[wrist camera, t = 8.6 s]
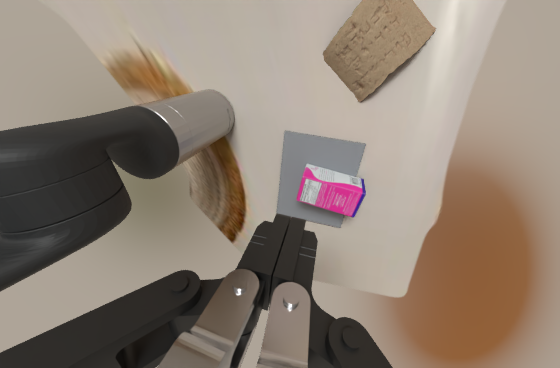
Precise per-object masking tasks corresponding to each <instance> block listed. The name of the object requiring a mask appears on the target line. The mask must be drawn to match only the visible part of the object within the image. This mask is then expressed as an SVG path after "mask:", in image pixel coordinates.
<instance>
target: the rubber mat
mask: <svg viewBox="0 0 560 368" xmlns="http://www.w3.org/2000/svg"><path fill="white" fill-rule="evenodd" d="M365 146H366V144H364V143H358V142H352V141H346V140H339V139H333V138H327V137H321V136H315V135H308V134H302V133H296V132H290V131H285V134H284V144H283V154H282V164H281V174H280V184H279V194H278V204H277V213H278V214H283V215H287V216H291V217H296V218H301V219H305V220H307V221H312V222H316V223H320V224H325V225H329V226H334V227H338V228H341V224H342V221H343V218H344V214H340V213H337V212H334V211H330V210H327V209H324V208H320V207H317V206H314V205H310V204H307V203H304V202H300V201H297V200H296V198H297V194H298V191H299V187H300V184H301V180H302V176H303V173H304V170H305V167H306V164H310V165H314V166H318V167H321V168H325V169H329V170H332V171H336V172H339V173H343V174H347V175H350V176H354V177H356V175H357V172H358V169H359V165H360V162H361V159H362V156H363V152H364V149H365Z"/></svg>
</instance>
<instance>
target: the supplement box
mask: <svg viewBox="0 0 560 368" xmlns="http://www.w3.org/2000/svg"><path fill="white" fill-rule="evenodd" d="M365 195H366V191H365V185H364V179H361V178H358V177H354V176H350V175H347V174H343V173H339V172H336V171H332V170H329V169H325V168H321V167H318V166H314V165H310V164H306V167H305V170H304V173H303V176H302V180H301V184H300V187H299V191H298V194H297V198H296V200H297V201H300V202H304V203H307V204H310V205H314V206H317V207H320V208H324V209H327V210H330V211H334V212H337V213H340V214H344V215H347V216H350V217H354V216H355V215H356V213H357V211H358V209H359V207H360V205H361V203H362V201H363V199H364V197H365Z"/></svg>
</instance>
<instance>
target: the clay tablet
mask: <svg viewBox="0 0 560 368" xmlns="http://www.w3.org/2000/svg"><path fill="white" fill-rule="evenodd" d="M435 29H436V28H435V27H433V26H432V25H431V24H430V22H429V21H428V20H427V19H426V17H425V16H424V15H423V13H422V12H421V10H420V9H419V8H418V7H417V5H416V4H415V3H414V1H413V0H363V1H362V2H361V3H360V4H359V5H358V6H357V7H356V9H355V10H354V11H353V14H352V16H351V17H350V18H349V19H348V20H347V21H346V23H345V24H344V25H343V27H341V28H340V29H339V31H338V33H337V35H336V36H335V37H334V38H333V40H332V41H331V42H330V44H329V45H328V47H327V48H326V50H325V51H324V52H323V55H324V60H325V62H326V63H327V64H328V65H329V66H330V67H331V68H332V70H333V71H334V72H335V73H336V74H337V75H338V77H339V78H340V79H341V80H342V81H343V82H344V83H345V85H346V86H347V87H348V88H349V89H350V91H352V92H353V93H354V94H355V97H356V98H357V100H358V101H359V102H360V101H362V100H364V99H365V98H366V97H367V96H368V94H371V93H372V92H374V91H375V88H377V87H379V86H380V85H381V84H382V83H383V81H384V80H385V78H386V77H387V76H388V74H389V73H392V72H394V70H395V69H396V68H397V67H398V66H400V65H401V64H403V63H404V62H405V61H406V59H408V58H411V56H412V55H413V54H414V53H416V52H417V51H418V49H420V48H421V47H422V45H424V43H425V42H426V40H428V39H429V38H430V36H431V35H432V34H433V32H435Z"/></svg>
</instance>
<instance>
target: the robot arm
mask: <svg viewBox="0 0 560 368" xmlns="http://www.w3.org/2000/svg"><path fill="white" fill-rule="evenodd" d="M233 124H234V112H233V109H232V106H231V104H230V103H229V101H228V100H227V99H226V98H225V97H224V96H223V95H222V94H220V93H219V92H217V91H214V90H203V91H198V92H193V93H189V94H184V95H180V96H175V97H171V98H166V99H162V100H157V101H153V102H149V103H144V104H140V105H135V106H131V107H126V108H122V109H118V110H114V111H110V112H105V113H101V114H96V115H92V116H87V117H82V118H76V119H70V120H65V121H58V122H52V123H45V124H39V125H33V126H26V127H21V128H15V129H10V130H4V131H0V291H2V290H4V289H6V288H8V287H10V286H12V285H14V284H15V283H17V282H19V281H21V280H23V279H25V278H27V277H29V276H30V275H33V274H34V273H36V272H38V271H40V270H42V269H44V268H46V267H48V266H50V265H52V264H53V263H55V262H57V261H59V260H61V259H63V258H65V257H66V256H68V255H70V254H72V253H74V252H75V251H77V250H79V249H81V248H83V247H85V246H87V245H88V244H90V243H92V242H93V241H95V240H97V239H98V238H100V237H102V236H103V235H105V234H106V233H107V232H109V231H110V230H112V229H113V228H114V227H116V226H117V225H118V224H120V223H121V222H122V221H123V220H124V219H125V218H126V216H127V215H128V214H129V212H130V211H131V205H132V204H131V200H130V197H129V194H128V192H127V190H126V188H125V186H124V184H123V182H122V180H121V178H120V176H119V174H118V172H117V170H116V168H115V166H114V165H113V163H112V161H111V160H113V161H114V162H115V163H116V164H117V165H118V166H119V167H120V168H122V169H123V170H125V171H126V172H128V173H130V174H131V175H134V176H136V177H139V178H143V179H154V178H157V177H160V176H162V175H164V174H166V173H167V172H169V171H170V170H172V169H174V168H175V167H176V166H178V165H180V164H181V163H183V162H184V161H186V160H187V159H189V158H191V157H192V156H194V155H195V154H197V153H198V152H200V151H201V150H203V149H204V148H206V147H208V146H209V145H211V144H212V143H214V142H215V141H217V140H218V139H220V138H222V137H223V136H225V135H226V134H228V133H229V132H230V131H231V129H232V127H233ZM305 222H306V220H305V219H301V218H296V217H292V218H291V216H287V215H283V214H278V213H277V214H276V216H275V219H274V221H273V223H272V222H268V221H264V222H263V223H261V224H260V225H259V226H257V228H256V230H255V232H254V235H253V236H252V238H251V240H250V242H249V244H248V246H247V248H246V250H245V252H244V254H243V256H242V258H241V260H240V262H239V264H238V266H237V268H236V269H235V270H234V271H232V272H230V273H229V274H228V275H227V276H226V277H224V278H221V279H214V280H200V279H199V277H198V275H197V274H196V273H195V272H193V271H189V270H181V271H177V272H175V273H173V274H170V275H168V276H166V277H164V278H162V279H160V280H157V281H155V282H153V283H151V284H149V285H147V286H144V287H142V288H140V289H138V290H136V291H134V292H131V293H129V294H127V295H125V296H123V297H120V298H118V299H116V300H114V301H112V302H110V303H107V304H105V305H103V306H101V307H99V308H97V309H94V310H92V311H90V312H88V313H86V314H83V315H81V316H79V317H77V318H75V319H73V320H70V321H68V322H66V323H64V324H62V325H60V326H57V327H55V328H53V329H51V330H49V331H47V332H44V333H42V334H40V335H38V336H36V337H34V338H31V339H29V340H27V341H25V342H23V343H20V344H18V345H16V346H14V347H12V348H10V349H7V350H5V351H3V352H1V353H0V368H155V367H157V366H158V365H159V366H158V367H157V368H240V367H241V364H242V362H243V359H244V356H245V354H246V352H247V349H248V346H249V344H250V342H251V339H252V337H253V334H254V332H255V329H256V325H257V322H258V319H259V316H260V313H261V310H262V309H264V310H268V307H269V314H268V319H267V324H266V328H265V333H264V338H263V343H262V347H261V352H260V356H259V359H258V362H257V366H256V368H392V366H391V365H390V363H389V362H388V360H387V359H386V357H385V356H384V355H383V353H382V352H381V350H380V349H379V347H378V346H377V345H376V343H375V342H374V340H373V339H372V338H371V336H370V335H369V333H368V332H367V330H366V329H365V328H364V327H363V326H362V325H361V324H360V323H359V322H357V321H355V320H353V319H351V318H347V317H342V318H338V319H335V318H334V317H332V316H331V315H329V314H328V313H326V312H325V311H323V310H322V309H321V308H320V307H319V306H318V305H317V304H316V302H315V301H314V299H313V296H312V291H311V287H312V279H313V272H314V264H315V257H316V249H317V242H318V241H317V238H316V235H315V233H314V232H311V231H306V230H304V227H305ZM269 304H270V306H269Z"/></svg>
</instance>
